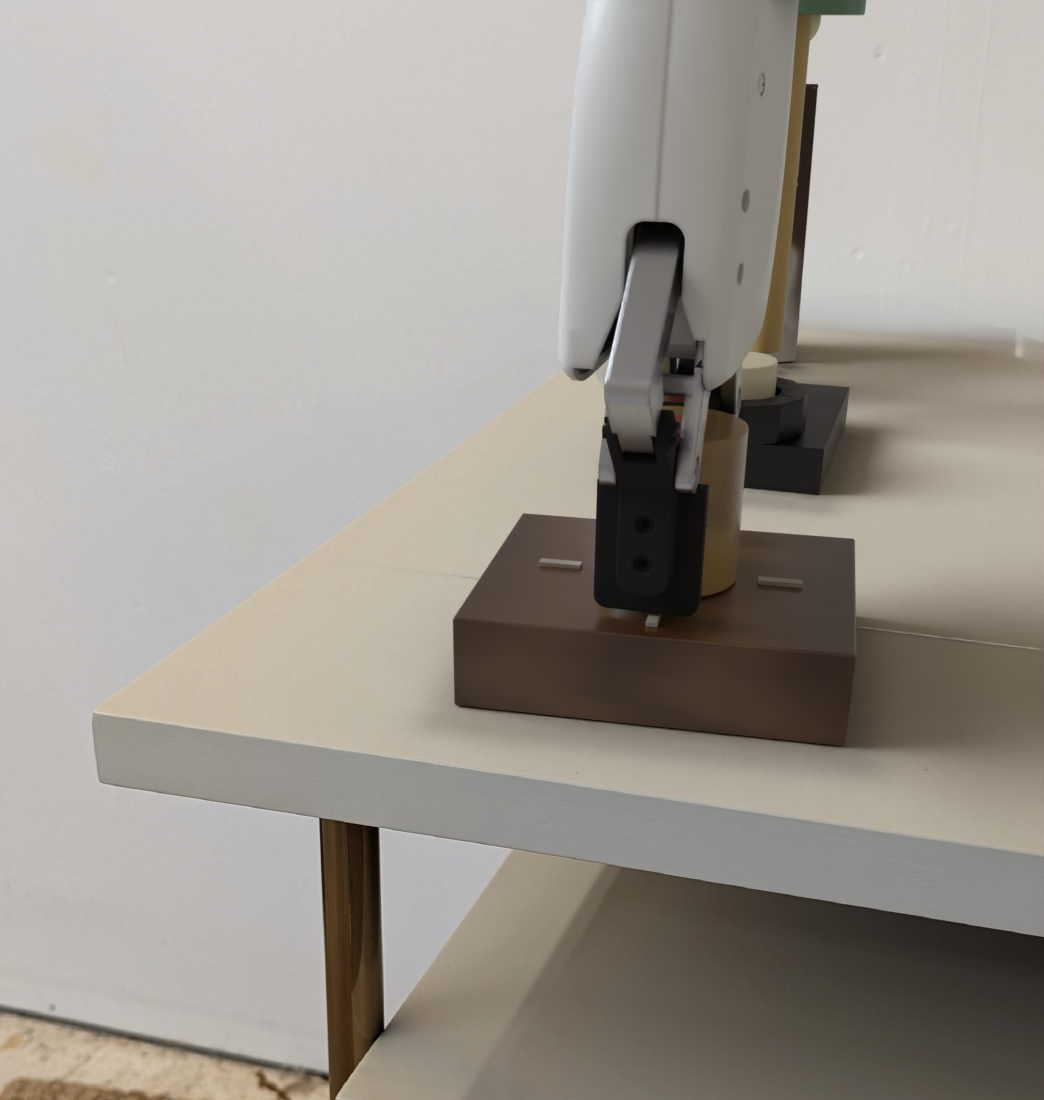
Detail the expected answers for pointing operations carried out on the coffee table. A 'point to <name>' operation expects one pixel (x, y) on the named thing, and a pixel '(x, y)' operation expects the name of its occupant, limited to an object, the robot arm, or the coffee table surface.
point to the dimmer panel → (664, 639)
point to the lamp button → (758, 376)
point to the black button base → (793, 436)
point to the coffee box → (799, 230)
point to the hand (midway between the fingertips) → (668, 562)
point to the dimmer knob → (721, 495)
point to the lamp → (794, 164)
